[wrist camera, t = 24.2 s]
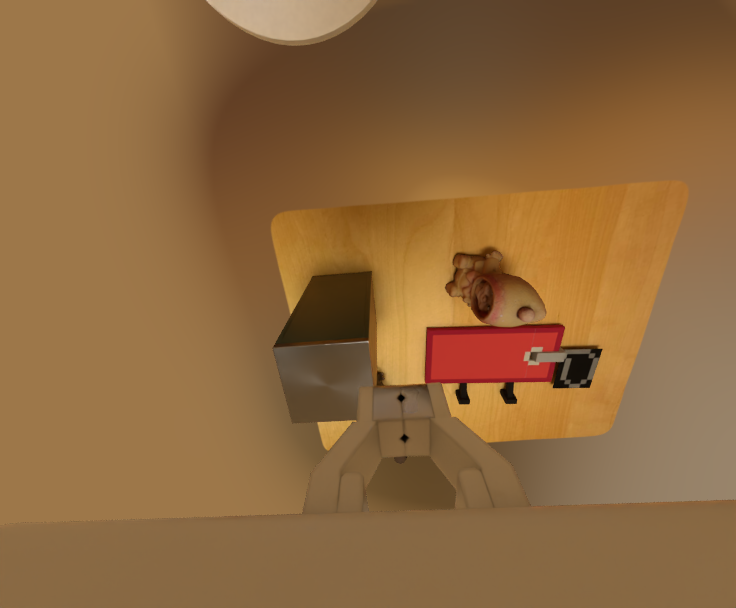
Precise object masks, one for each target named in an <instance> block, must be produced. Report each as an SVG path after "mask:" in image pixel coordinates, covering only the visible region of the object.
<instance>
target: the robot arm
mask: <svg viewBox="0 0 736 608" xmlns="http://www.w3.org/2000/svg"><path fill="white" fill-rule="evenodd" d="M402 456H430V458H431V459H432V460H433V461H434V463H435V464H436V465H437V467H438V468H439V469H440V470H441V472H442V473H443V474H444V475H445V477H446V478H447V479H448V480H449V482H450V483H451V484H452V486H453V487H454V488H455V489H456V501H455V509H442V510H412V511H411V510H410V511H380V512H369V509H368V502H367V496H366V490H365V489H366V487H367V485H368V483H369V482H370V480H371V478H372V476H373V474H374V473H375V471H376V469H377V467H378V465H379V463H380V461H381V458H388V457H402ZM0 608H736V500H714V501H685V502H656V503H655V502H653V503H626V504H625V503H624V504H623V503H622V504H593V505H592V504H591V505H560V506H533V507H532V506H531V505H530V503H529V501H528V498H527V496H526V494H525V492H524V490H523V487H522V485H521V483H520V481H519V478H518V476H517V474H516V472H515V469H514V467H513V465H512V464H511V463H509V462H508V461H507V460H506V459H505V458H503V457H502V456H501V455H500V454H499V453H498V452H497V451H495V450H494V449H493V448H492V447H490V446H489V445H488V444H487V443H486V442H485V441H484V440H482V439H481V438H480V437H479V436H478V435H476V434H475V433H474V432H473V431H472V430H471V429H469V428H468V427H467V426H466V425H465V424H463V423H462V422H461V421H460V420H459V419H457V418H456V417H451V414H450V411H449V407H448V404H447V401H446V397H445V394H444V391H443V387H442V384H441V383H440V382H437V383H426V384H410V385H393V386H373V387H360V388H359V395H358V410H357V422H352V424H351V425H350V426H349V427H348V428H347V430H346V431H345V432H344V433H343V434H342V436H341V437H340V438H339V439H338V440H337V442H336V443H335V444H334V445H333V446H332V448H331V449H330V450H329V451H328V453H327V454H326V455H325V456H324V457H323V459H322V460H321V461H320V462H319V463H318V465H317V466H316V467H315V468H314V469H313V471H312V472H311V474H310V479H309V483H308V489H307V493H306V498H305V503H304V508H303V513H302V514H287V515H255V516H224V517H194V518H162V519H131V520H103V521H102V520H101V521H73V522H72V521H71V522H44V523H43V522H36V523H11V524H5V525H1V526H0Z"/></svg>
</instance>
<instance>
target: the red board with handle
mask: <svg viewBox="0 0 736 608" xmlns="http://www.w3.org/2000/svg"><path fill="white" fill-rule="evenodd" d="M564 330H565V327H564V326H563V325H528V326H516V327H497V326H487V327H446V328H427V337H426V363H425V383H437V382H440V383H460V390H456V396H457V399H458V402H459V404H470V399H469V396H468V394H467V383H502V382H506V389H501V391H500V394H501V396H502V398H503V399H504V401H505V403H506V404H516V403H517V399H516V397H515V395H514V394H513V388H514V382H551V380H552V376H553V372H554V368H555V364H556V362H560V363H559V366H558V370H557V374H556V378H555V381H554V385H553V388H590V385H591V382H592V379H593V376H594V373H595V370H596V367H597V364H598V361H599V358H600V355H601V352H602V349H571V350H563V349H562V348H561V347H560V345H561V341H562V337H563V333H564ZM530 353H531V357H532V358H530Z"/></svg>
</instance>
